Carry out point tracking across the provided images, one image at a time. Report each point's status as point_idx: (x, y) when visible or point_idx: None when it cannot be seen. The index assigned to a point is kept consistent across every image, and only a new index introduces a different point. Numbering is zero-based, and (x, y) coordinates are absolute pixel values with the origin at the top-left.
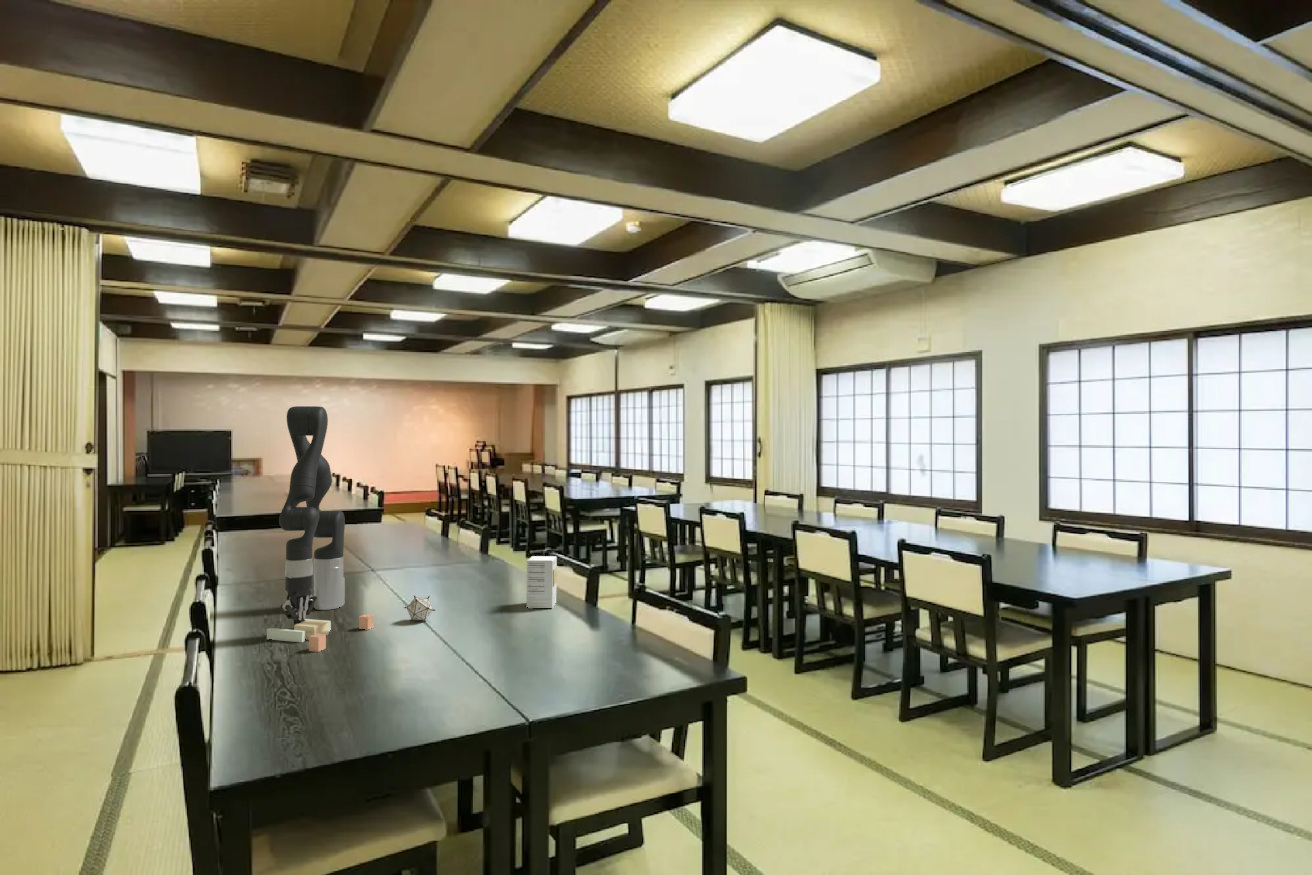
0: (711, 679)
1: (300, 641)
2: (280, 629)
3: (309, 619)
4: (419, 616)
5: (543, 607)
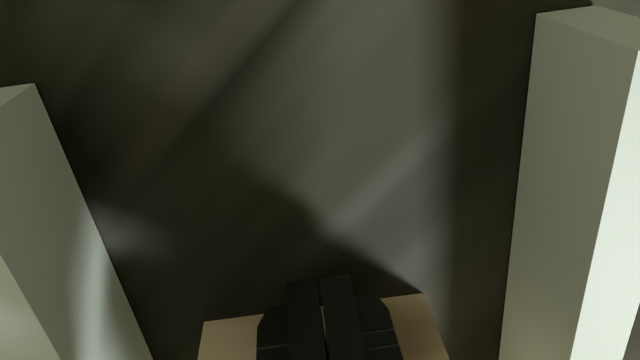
0: None
1: None
2: (23, 358)
3: (629, 284)
4: None
5: None
